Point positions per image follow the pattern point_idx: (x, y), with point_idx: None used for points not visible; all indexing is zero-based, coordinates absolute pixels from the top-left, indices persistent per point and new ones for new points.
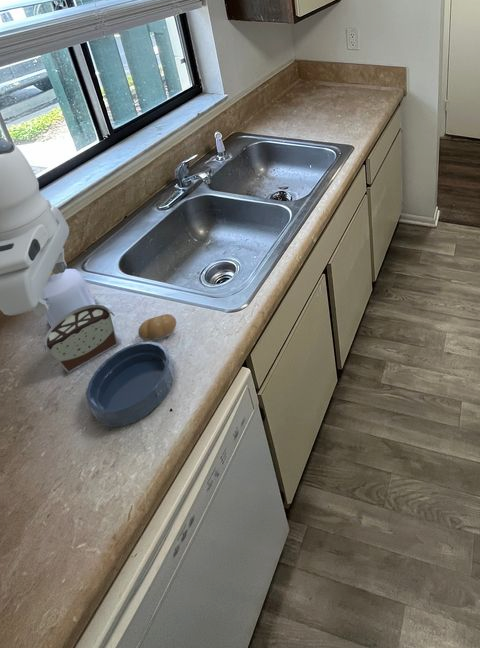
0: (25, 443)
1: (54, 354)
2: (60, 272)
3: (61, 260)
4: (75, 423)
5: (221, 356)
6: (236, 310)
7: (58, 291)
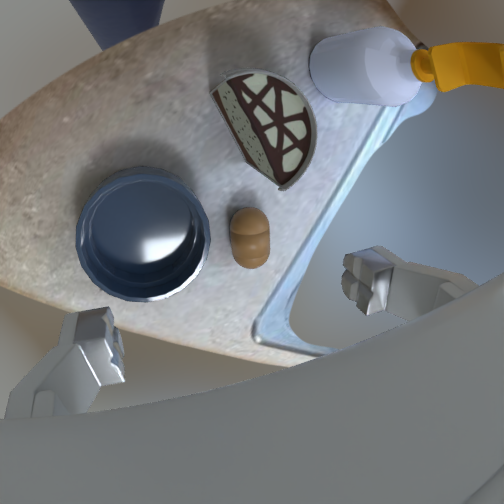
0: (90, 80)
1: (222, 85)
2: (345, 275)
3: (394, 308)
4: (103, 147)
5: (176, 331)
6: (253, 331)
7: (372, 72)
